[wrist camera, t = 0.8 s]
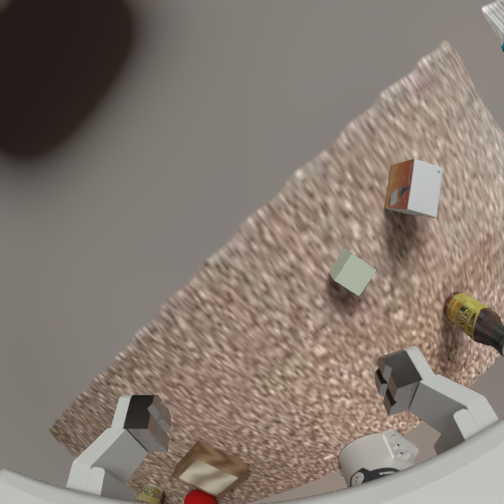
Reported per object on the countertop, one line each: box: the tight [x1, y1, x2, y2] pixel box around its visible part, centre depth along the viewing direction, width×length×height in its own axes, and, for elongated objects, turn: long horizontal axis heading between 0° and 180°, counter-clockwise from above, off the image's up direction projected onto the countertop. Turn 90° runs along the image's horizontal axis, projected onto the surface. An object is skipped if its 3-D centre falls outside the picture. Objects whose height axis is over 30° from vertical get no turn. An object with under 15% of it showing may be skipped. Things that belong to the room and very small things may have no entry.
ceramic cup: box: [135, 484, 165, 504], centre depth 62 cm, size 13×10×10 cm
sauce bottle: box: [445, 292, 504, 357], centre depth 40 cm, size 6×6×20 cm
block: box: [329, 248, 376, 296], centre depth 48 cm, size 5×5×6 cm
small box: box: [384, 159, 443, 218], centre depth 43 cm, size 8×6×10 cm
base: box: [172, 441, 249, 498], centre depth 59 cm, size 14×14×5 cm
